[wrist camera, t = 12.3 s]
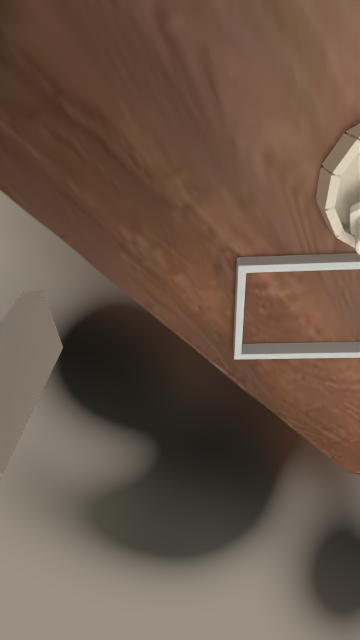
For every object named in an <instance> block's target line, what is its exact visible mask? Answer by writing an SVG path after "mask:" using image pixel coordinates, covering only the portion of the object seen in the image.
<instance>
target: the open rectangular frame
mask: <svg viewBox="0 0 360 640" xmlns="http://www.w3.org/2000/svg"><path fill="white" fill-rule="evenodd" d="M342 269H360V255H359V254H358V253H339V254H312V255H284V256H256V257H237V262H236V287H235V312H234V337H233V352H234V359H289V358H352V357H360V342H308V343H255V344H242V333H243V316H244V299H245V282H246V273H251V272H281V271H312V270H342Z"/></svg>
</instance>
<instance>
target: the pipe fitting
mask: <svg viewBox="0 0 360 640" xmlns="http://www.w3.org/2000/svg"><path fill="white" fill-rule="evenodd" d="M350 228H351V234H352V235H356V236H355V248H356V251H357V253H358V254H359V255H360V202H359V203H357V204H355V205H353V206H351V207H350Z"/></svg>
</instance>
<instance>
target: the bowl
mask: <svg viewBox="0 0 360 640" xmlns="http://www.w3.org/2000/svg"><path fill="white" fill-rule="evenodd" d="M322 165H323V167H321V169H320V175H319V181H318V187H317V193H316V202H317V205H318V207H319V209H320V212H321V214H322V216H323V219H324V221H325V223H326V225H327V226H328V228H329V229H330V230H331V231H332V233H333V234H334V235H335V236H336V237H337V238H338V239H340V240H342V241H343V242H345V243H347V244H349V245H351V246H352V247H354V248H355V236H356V235H352V234H351V228H350V207H351V206H353V205H355V204H357V203H359V202H360V123H359V124H357V125H355V126H354V127H352V128H351V129H349V130H347V131H346V134H343V135H342V137H341V138H340V139H339V141H338V142H337V144H336V145H335V147H334V148H333V149H332V151H331V152H330V154H329V155H328V157H327V158H326V159H325V161H324V162H323V164H322Z"/></svg>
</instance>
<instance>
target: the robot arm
mask: <svg viewBox="0 0 360 640" xmlns="http://www.w3.org/2000/svg"><path fill="white" fill-rule="evenodd" d="M62 348H63V346H62V344H61V341H60V338H59V335H58V332H57V329H56V326H55V324H54V320H53V318H52V315H51V312H50V309H49V306H48V303H47V300H46V298H45V295H44V292H43V291H29V292H23V293H22V294H21V295H20V297H19V298H18V299H17V301H16V302H15V303H14V305H13V306H12V307H11V308H10V310H9V311H8V312H7V314H6V315H5V316H4V318H3V319H2V320H1V322H0V479H1V477H2V475H3V473H4V471H5V469H6V466H7V464H8V462H9V460H10V458H11V456H12V454H13V451H14V449H15V447H16V445H17V443H18V441H19V439H20V437H21V434H22V433H23V430H24V428H25V426H26V424H27V422H28V420H29V418H30V415H31V414H32V412H33V409H34V407H35V405H36V403H37V401H38V399H39V397H40V395H41V393H42V390H43V388H44V386H45V384H46V382H47V380H48V378H49V376H50V373H51V371H52V369H53V367H54V365H55V363H56V361H57V359H58V357H59V355H60V352H61V350H62Z"/></svg>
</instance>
